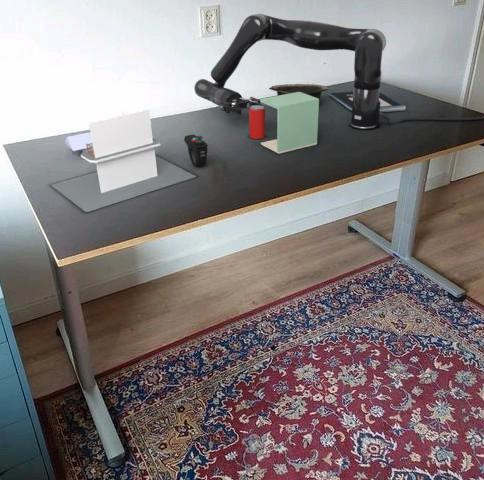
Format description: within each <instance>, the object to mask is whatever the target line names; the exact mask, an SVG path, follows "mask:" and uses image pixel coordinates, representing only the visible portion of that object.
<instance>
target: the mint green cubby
mask: <svg viewBox="0 0 484 480" xmlns="http://www.w3.org/2000/svg"><path fill="white" fill-rule="evenodd" d="M259 100H260V102H261V104H264V105H266V106H269V107H271V108H273V109H276V111H277V118H276V119H277V120H276V121H277V126H276V127H277V128H276V129H277V130H276V131H277V132H276V133H277V134H276V135H277V136H276V137H277V138H276V139H272V140H266V141H264V142H260V145H261V146H262V147H265V148H267V149H269V150H271V151H272V152H274V153H276V154H277V155H279V154H283V153H287V152H292V151H295V150H299V149H303V148H308V147H312V146H316V145H318V131H319V108H320V102H319V99H318V98H315V97H313V96H310V95H307V94H304V93H302V92H294V93H288V94H283V95H278V96H277V95H272V96H268V97H261V98H259Z"/></svg>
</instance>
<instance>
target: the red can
mask: <svg viewBox="0 0 484 480" xmlns="http://www.w3.org/2000/svg"><path fill="white" fill-rule="evenodd" d="M248 114H249V116H248V119H249V120H248V121H249V138H250V139H253V140H259V139H264V138H265V137H266V108H265V107H264V106H263V105H262V106H259V105H255V106H253V105H252V106H251V107H250V108H249V109H248Z"/></svg>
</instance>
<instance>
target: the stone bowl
mask: <svg viewBox="0 0 484 480" xmlns="http://www.w3.org/2000/svg"><path fill="white" fill-rule="evenodd" d="M268 90H270V91H273V92H276V96H278V95H283V94H288V93H294V92H302V93H304V94H307V95H310V96H313V97H315V98H318V99H319V103H320V102H321V98H322V97H321V95H322V92H326V91H330V90H331V87H328V86H326V85H322V84H314V83H312V84H309V83H293V84H291V83H289V84H288V83H287V84H276V85H272V86H270V87H269V88H268Z"/></svg>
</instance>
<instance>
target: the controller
mask: <svg viewBox="0 0 484 480" xmlns="http://www.w3.org/2000/svg"><path fill="white" fill-rule="evenodd" d="M183 141H184V143H185V144H186V146H187V151H188V156H189V159H190V162H191V164H192V165H193V166H195V167H202V166H205V165H206V163H207V161H208V151H209V149H208V146H209V145H208V143H207V142H205V140H203V136H202V135H195V134H189V135H188V134H187V135H185V136H184V139H183Z"/></svg>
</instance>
